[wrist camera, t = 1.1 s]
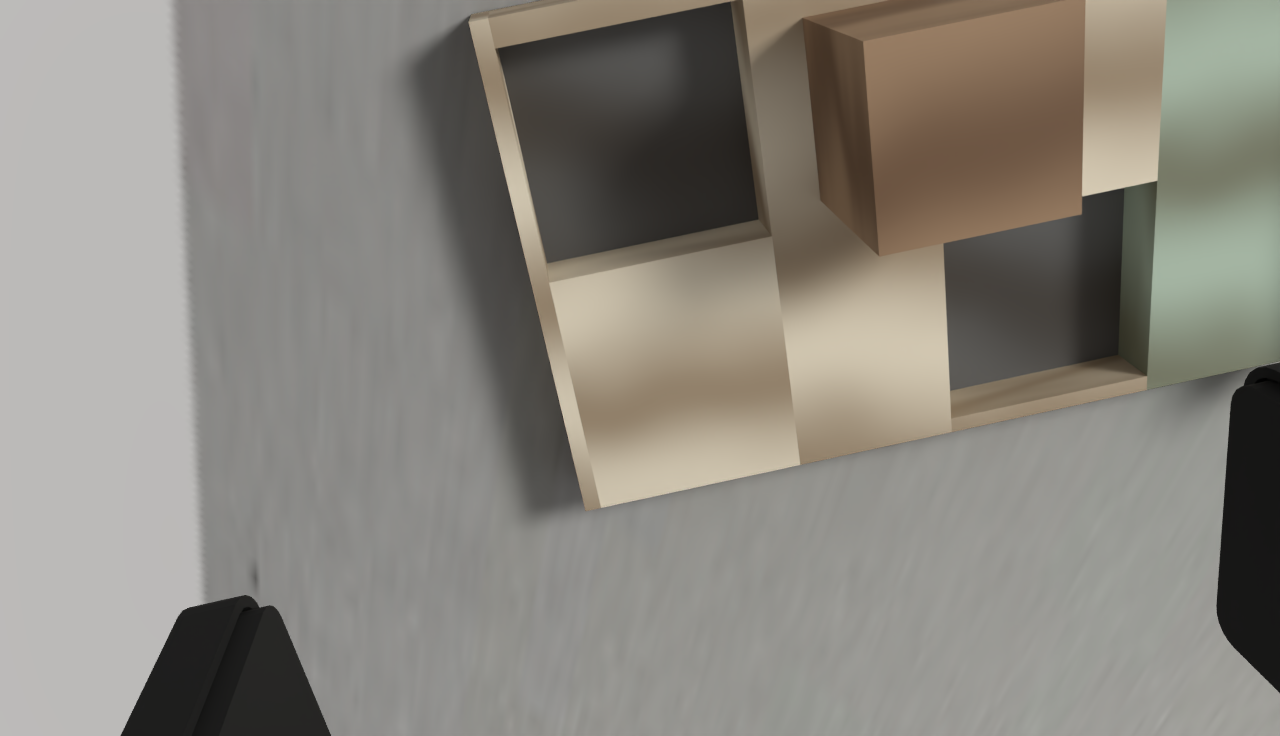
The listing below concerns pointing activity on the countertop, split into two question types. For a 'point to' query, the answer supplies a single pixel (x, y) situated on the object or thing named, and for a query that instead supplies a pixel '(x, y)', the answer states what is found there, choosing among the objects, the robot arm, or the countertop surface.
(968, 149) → the walnut block
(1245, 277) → the trap board
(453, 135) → the countertop surface
